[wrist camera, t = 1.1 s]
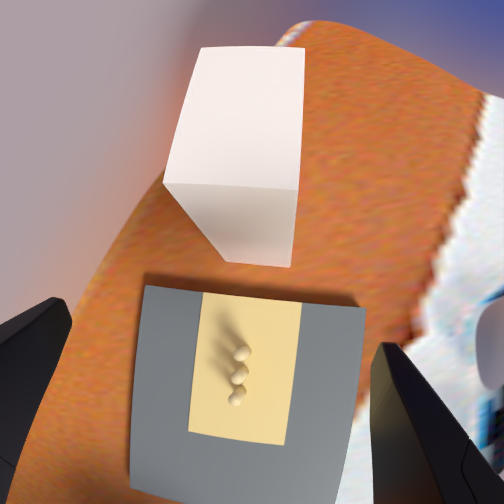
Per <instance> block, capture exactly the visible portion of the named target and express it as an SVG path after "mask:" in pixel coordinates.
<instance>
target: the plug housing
mask: <svg viewBox="0 0 504 504" xmlns="http://www.w3.org/2000/svg"><path fill="white" fill-rule="evenodd" d="M304 64H305V48H292V47H267V46H237V47H236V46H234V47H208V48H201V50H200V53H199V56H198V59H197V62H196V65H195V68H194V72H193V74H192V78H191V80H190V84H189V87H188V90H187V93H186V97H185V100H184V103H183V107H182V110H181V114H180V117H179V121H178V124H177V128H176V131H175V135H174V139H173V143H172V147H171V150H170V154H169V159H168V162H167V166H166V170H165V175H164V179H163V184H164V185H165V187H166V188H167V189H168V190H169V192H170V193H171V194H172V195H173V197H174V198H175V199H176V200H177V202H178V203H179V204H180V205H181V207H182V208H183V209H184V210H185V212H186V213H187V214H188V215H189V217H190V218H191V219H192V220H193V222H194V223H195V224H196V225H197V227H198V228H199V229H200V230H201V232H202V233H203V234H204V235H205V237H206V238H207V239H208V240H209V241H210V243H211V244H212V245H213V246H214V248H215V249H216V250H217V251H218V252H219V254H220V255H221V256H222V257H223V259H224V260H225V261H226V262H234V263H245V264H255V265H266V266H276V267H287V268H290V264H291V255H292V246H293V237H294V228H295V218H296V208H297V198H298V186H299V171H300V155H301V137H302V117H303V94H304Z"/></svg>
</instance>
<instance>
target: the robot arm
mask: <svg viewBox="0 0 504 504" xmlns="http://www.w3.org/2000/svg"><path fill="white" fill-rule="evenodd" d="M71 327H72V318H71V315H70V313H69V310H68V308H67V305H66V303H65V301H64V300H63V299H60V298H56V297H51V298H49V299H47V300H45V301H43V302H42V303H40V304H38V305H36V306H34V307H32V308H30V309H28V310H27V311H25V312H23V313H21V314H19V315H17V316H15V317H14V318H12V319H10V320H8V321H6V322H4V323H3V324H1V325H0V504H6V500H7V496H8V493H9V489H10V486H11V483H12V480H13V476H14V473H15V470H16V469H15V468H16V466H17V463H18V461H19V458H20V455H21V452H22V449H23V446H24V444H25V441H26V438H27V435H28V433H29V430H30V428H31V425H32V422H33V420H34V417H35V415H36V413H37V410H38V408H39V405H40V403H41V401H42V398H43V396H44V394H45V391H46V389H47V387H48V384H49V382H50V380H51V378H52V376H53V373H54V371H55V369H56V367H57V364H58V362H59V359H60V356H61V353H62V351H63V348H64V345H65V343H66V340H67V337H68V335H69V332H70V330H71ZM370 434H371V449H372V468H373V500H374V504H504V481H503V480H502V479H501V478H500V476H499V475H498V474H497V473H496V472H495V470H494V469H493V468H492V467H491V466H490V464H489V463H488V462H487V460H486V459H485V458H484V456H483V455H482V454H481V452H480V451H479V450H478V448H477V447H476V446H475V444H474V443H473V441H472V440H471V439H469V436H468V435H467V433H466V432H465V431H464V429H463V428H462V427H461V425H460V424H459V422H458V421H457V420H456V418H455V417H454V416H453V414H452V413H451V412H450V410H449V409H448V408H447V406H446V405H445V404H444V402H443V401H442V400H441V399H440V397H439V396H438V395H437V393H436V392H435V391H434V389H433V388H432V387H431V386H430V384H429V383H428V382H427V380H426V379H425V378H424V377H423V375H422V374H421V373H420V371H419V370H418V369H417V368H416V366H415V365H414V364H413V363H412V361H411V360H410V359H409V358H408V356H407V355H406V354H405V353H404V351H403V350H402V349H401V348H400V346H399V345H398V344H397V343H395V342H381V343H380V345H379V346H378V349H377V351H376V354H375V356H374V359H373V361H372V364H371V386H370Z"/></svg>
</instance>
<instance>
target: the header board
mask: <svg viewBox="0 0 504 504" xmlns="http://www.w3.org/2000/svg"><path fill="white" fill-rule="evenodd" d="M365 318H366V308H362V307H348V306H335V305H322V304H310V303H301V302H290V301H279V300H269V299H259V298H250V297H241V296H232V295H223V294H214V293H206V292H197V291H189V290H181V289H173V288H165V287H158V286H151V285H145V291H144V298H143V305H142V312H141V319H140V327H139V336H138V344H137V354H136V364H135V374H134V386H133V400H132V416H131V438H130V488H132V489H135V490H138V491H141V492H145V493H148V494H151V495H154V496H158V497H161V498H165V499H169V500H172V501H176V502H180V503H184V504H335V501H336V497H337V493H338V489H339V485H340V480H341V476H342V472H343V467H344V462H345V458H346V453H347V448H348V443H349V438H350V432H351V427H352V421H353V415H354V409H355V403H356V396H357V389H358V382H359V375H360V367H361V358H362V350H363V340H364V329H365Z"/></svg>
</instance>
